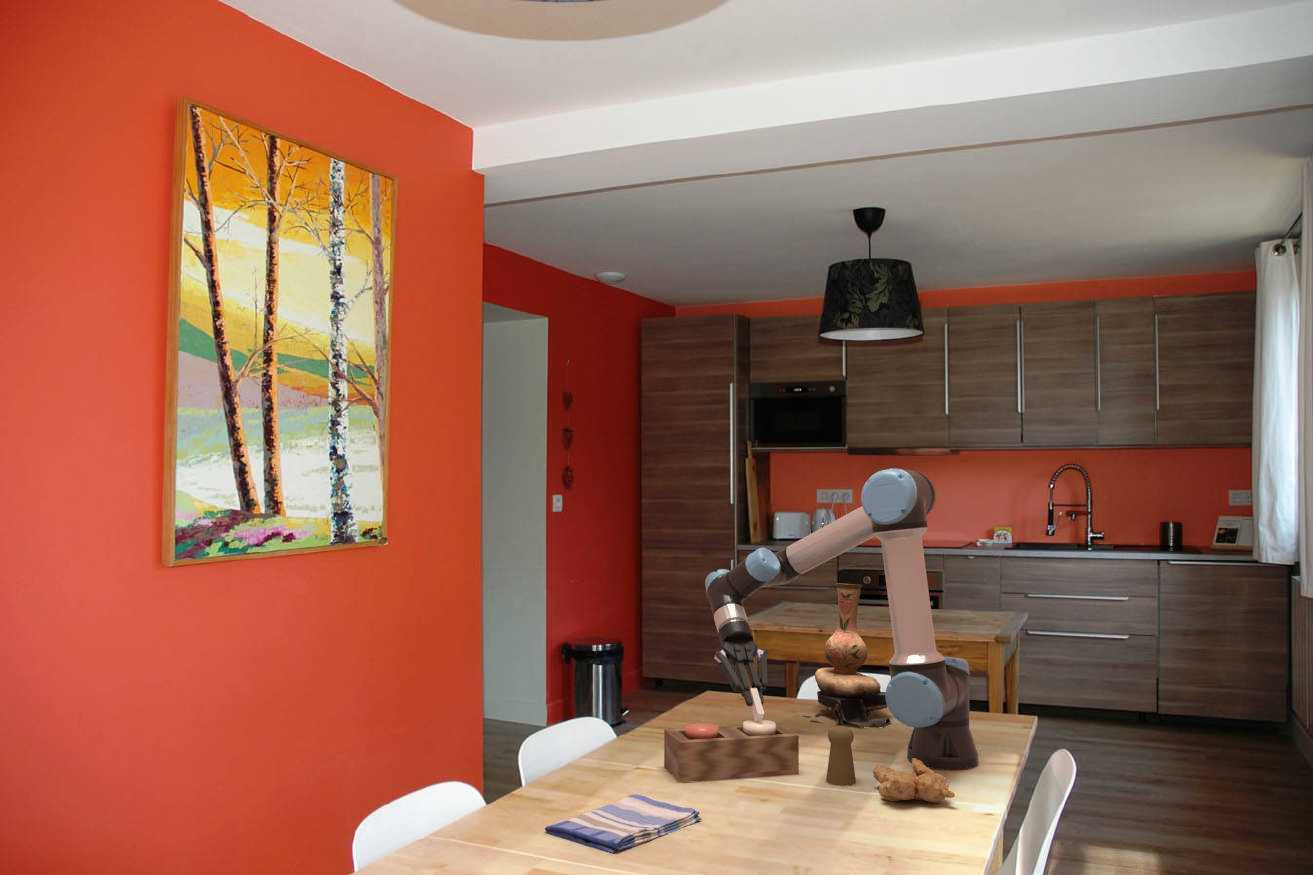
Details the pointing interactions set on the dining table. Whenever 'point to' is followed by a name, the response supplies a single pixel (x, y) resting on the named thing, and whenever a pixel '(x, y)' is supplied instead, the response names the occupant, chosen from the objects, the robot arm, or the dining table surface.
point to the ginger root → (912, 784)
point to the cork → (840, 757)
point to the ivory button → (759, 727)
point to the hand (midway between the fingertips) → (759, 717)
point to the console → (731, 754)
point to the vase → (848, 668)
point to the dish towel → (625, 823)
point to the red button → (701, 731)
